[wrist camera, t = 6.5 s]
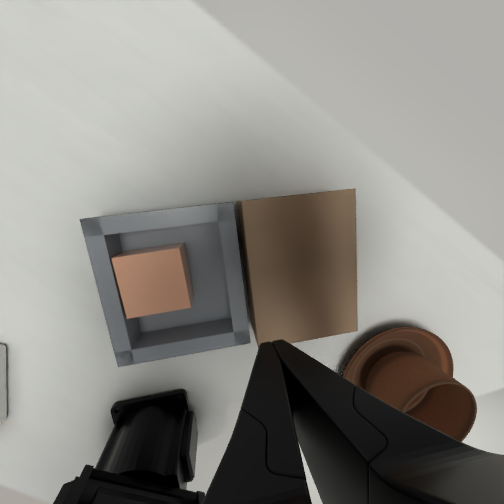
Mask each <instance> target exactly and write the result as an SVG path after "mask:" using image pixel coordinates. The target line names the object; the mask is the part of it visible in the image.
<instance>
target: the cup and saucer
mask: <svg viewBox="0 0 504 504" xmlns="http://www.w3.org/2000/svg"><path fill="white" fill-rule="evenodd" d="M343 377H344V378H346V379H347V380H349V381H350V382H352V383H354V384H355V385H357V386H359V387H360V388H362V389H363V390H365V391H367V392H368V393H370V394H372V395H373V396H375V397H377V398H378V399H380V400H382V401H383V402H385V403H387V404H389V405H391V406H393V407H395V408H396V409H398V410H400V411H402V412H404V413H406V414H408V415H410V416H412V417H413V418H415V419H417V420H419V421H421V422H423V423H425V424H427V425H429V426H431V427H433V428H435V429H437V430H439V431H441V432H443V433H444V434H446V435H448V436H450V437H452V438H454V439H456V440H458V441H460V442H462V441H463V440H464V438H465V437H466V436H467V435H468V433H469V432H470V430H471V428H472V426H473V424H474V421H475V418H476V412H477V406H476V401H475V398H474V396H473V394H472V393H471V391H470V390H469V389H468V388H466V387H465V386H464V385H462V384H461V383H460V382H458V381H457V380H455V379H454V378H453V360H452V356H451V353H450V351H449V349H448V347H447V345H446V344H445V343H444V342H443V341H442V339H440V338H439V337H438V336H436V335H435V334H433V333H431V332H429V331H426V330H423V329H420V328H415V327H400V328H394V329H391V330H388V331H385V332H383V333H381V334H379V335H377V336H375V337H373V338H372V339H370V340H369V341H367V342H366V343H365V344H364V345H363V346H362V347H361V348H360V349H359V350H358V351H357V352H356V353H355V354H354V356H353V357H352V359H351V360H350V362H349V364H348V365H347V368H346V370H345V372H344V375H343Z"/></svg>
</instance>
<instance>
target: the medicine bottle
mask: <svg viewBox="0 0 504 504" xmlns="http://www.w3.org/2000/svg"><path fill="white" fill-rule="evenodd" d="M6 417H7V394H6V346H5V345H2V344H0V425H1V424H2V423H3V422H4V421H5V419H6Z"/></svg>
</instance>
